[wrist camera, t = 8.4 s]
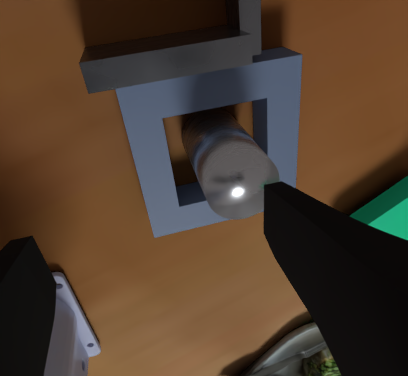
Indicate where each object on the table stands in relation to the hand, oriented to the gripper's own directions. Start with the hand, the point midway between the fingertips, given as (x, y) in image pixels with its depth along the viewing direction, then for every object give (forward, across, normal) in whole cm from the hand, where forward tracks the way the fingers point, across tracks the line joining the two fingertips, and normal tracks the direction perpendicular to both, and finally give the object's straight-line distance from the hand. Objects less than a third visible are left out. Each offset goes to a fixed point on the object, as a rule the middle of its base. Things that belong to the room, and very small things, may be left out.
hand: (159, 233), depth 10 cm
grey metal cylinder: (+9, -4, +1) cm, 10 cm away
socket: (+9, -4, +2) cm, 10 cm away
